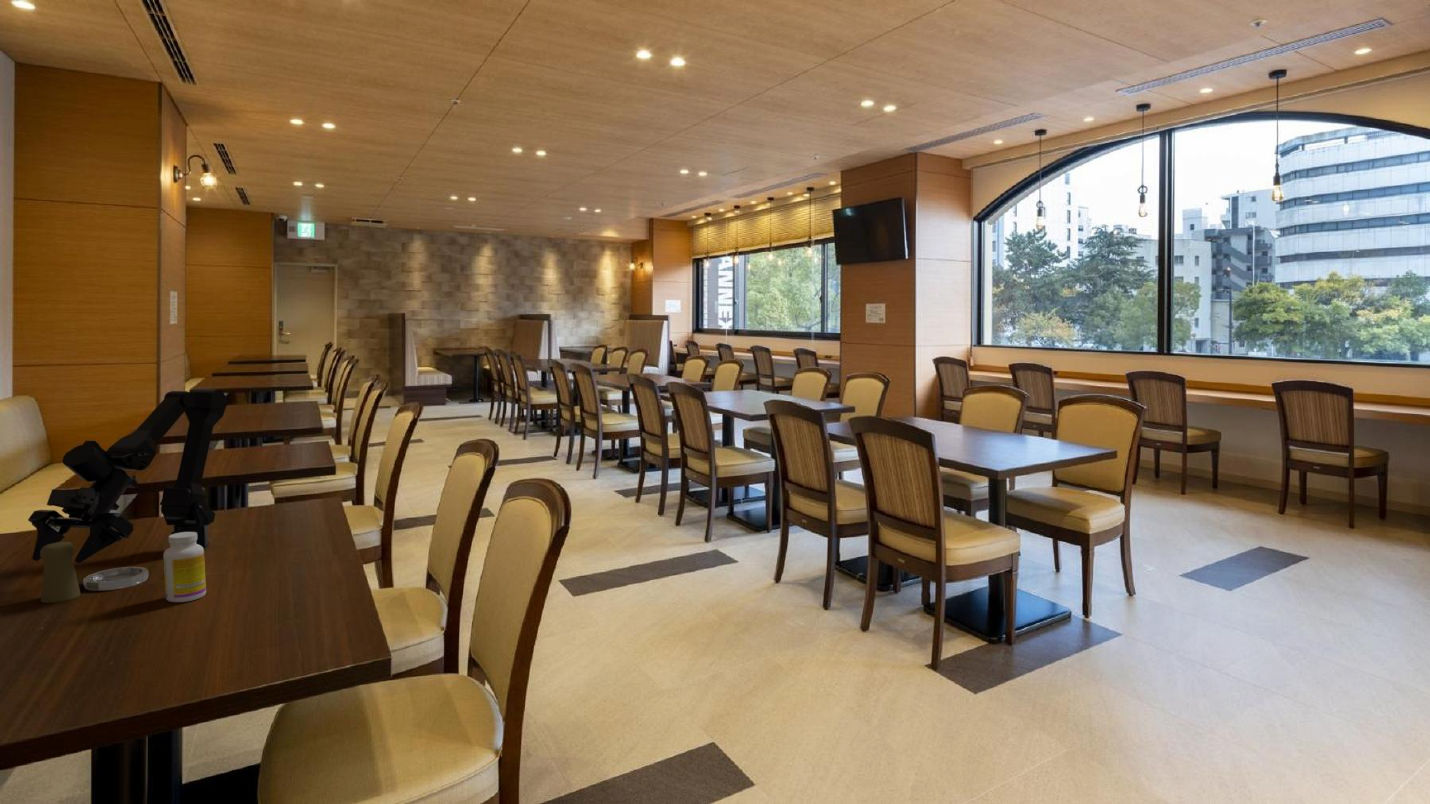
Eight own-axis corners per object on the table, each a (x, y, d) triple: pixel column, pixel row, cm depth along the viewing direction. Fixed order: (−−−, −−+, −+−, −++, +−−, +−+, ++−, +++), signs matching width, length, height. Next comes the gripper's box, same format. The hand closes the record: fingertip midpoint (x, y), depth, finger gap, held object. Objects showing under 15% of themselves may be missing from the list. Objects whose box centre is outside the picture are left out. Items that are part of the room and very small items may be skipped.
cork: (57, 603, 148) (53, 548, 147) (32, 601, 149) (28, 546, 148) (88, 593, 154) (85, 540, 153) (64, 590, 155) (60, 538, 154)
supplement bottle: (214, 594, 154) (211, 532, 153) (182, 605, 148) (178, 540, 147) (190, 590, 156) (187, 528, 155) (157, 601, 150) (153, 537, 149)
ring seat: (154, 572, 167) (154, 564, 167) (138, 587, 157) (137, 579, 157) (96, 577, 163) (95, 569, 163) (75, 593, 154) (75, 585, 153)
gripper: (34, 470, 155) (-20, 538, 145) (118, 473, 153) (69, 542, 143) (72, 500, 163) (24, 566, 153) (153, 504, 161) (109, 570, 151)
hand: (55, 561), depth 150 cm, fingers open, 9 cm apart
